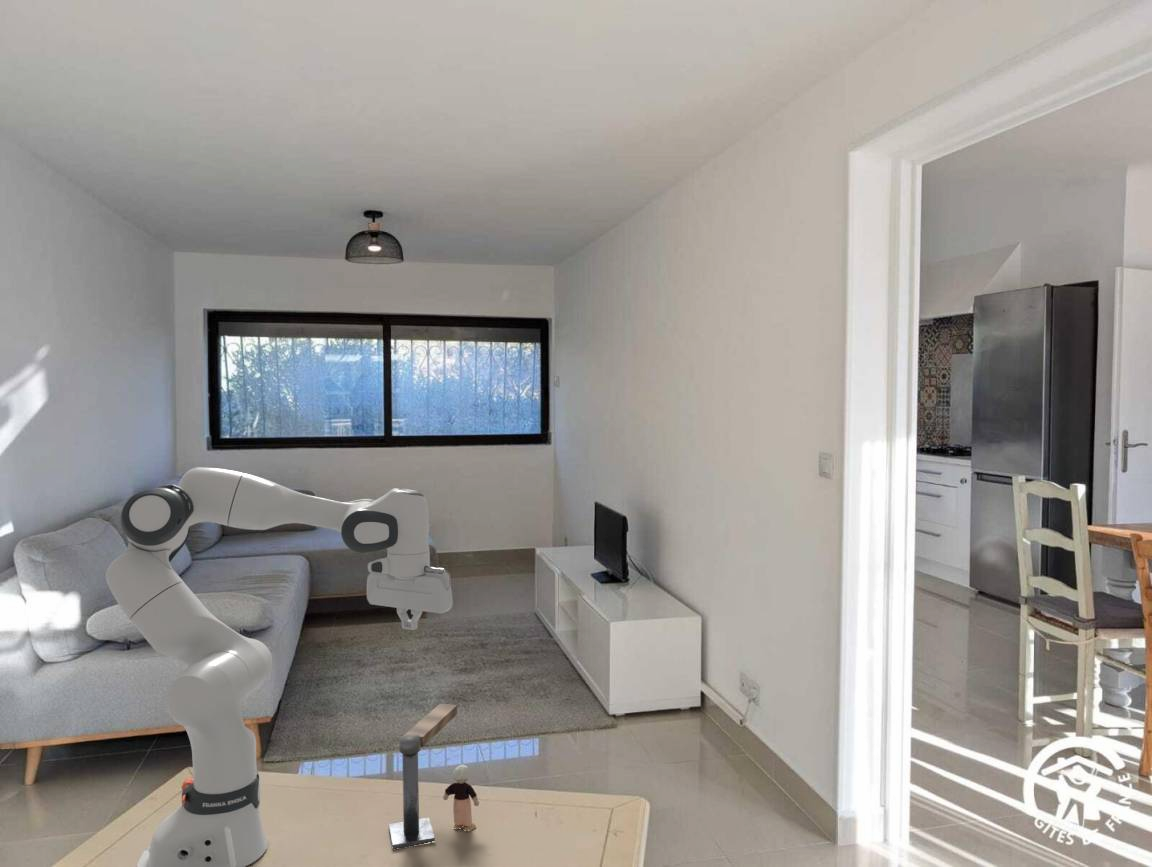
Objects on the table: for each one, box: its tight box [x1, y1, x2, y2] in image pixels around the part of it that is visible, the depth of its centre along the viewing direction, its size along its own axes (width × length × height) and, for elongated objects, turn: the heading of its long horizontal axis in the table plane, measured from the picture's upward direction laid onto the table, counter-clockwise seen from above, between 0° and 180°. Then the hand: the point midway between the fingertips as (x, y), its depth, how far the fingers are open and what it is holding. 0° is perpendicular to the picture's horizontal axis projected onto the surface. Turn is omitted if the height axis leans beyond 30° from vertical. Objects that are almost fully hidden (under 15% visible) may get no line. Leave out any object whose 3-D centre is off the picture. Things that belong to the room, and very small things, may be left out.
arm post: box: [388, 752, 436, 850], centre depth 162 cm, size 8×8×17 cm
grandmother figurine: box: [442, 764, 480, 832], centre depth 165 cm, size 8×4×13 cm, turn 84°
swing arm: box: [399, 703, 458, 754], centre depth 169 cm, size 20×4×2 cm, turn 165°
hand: (409, 628), depth 175 cm, fingers closed
